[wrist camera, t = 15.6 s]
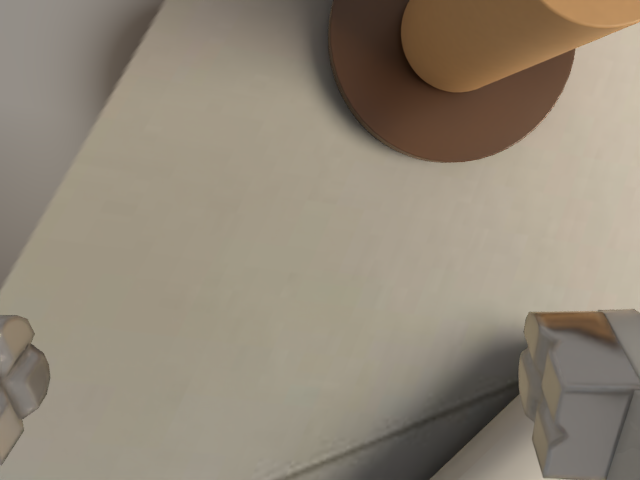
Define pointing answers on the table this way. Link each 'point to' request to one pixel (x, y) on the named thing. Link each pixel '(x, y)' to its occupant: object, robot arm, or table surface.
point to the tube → (498, 451)
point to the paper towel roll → (501, 35)
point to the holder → (431, 91)
